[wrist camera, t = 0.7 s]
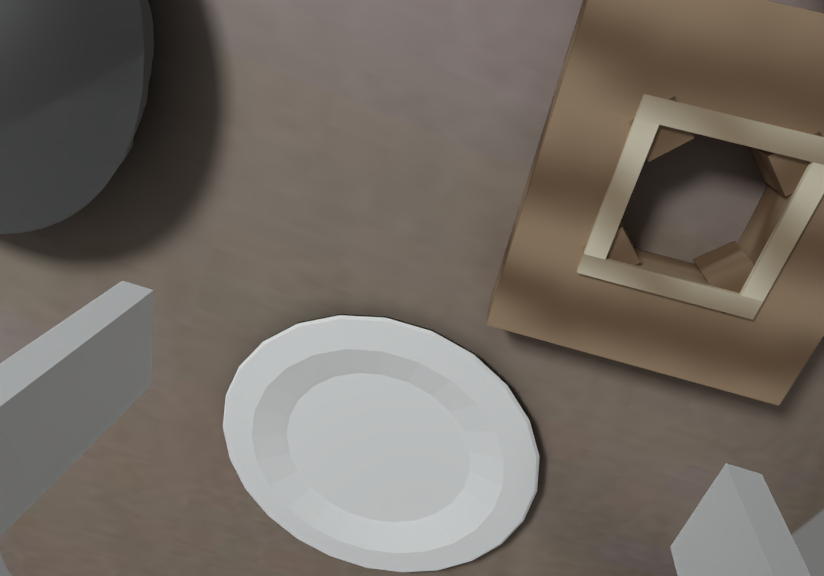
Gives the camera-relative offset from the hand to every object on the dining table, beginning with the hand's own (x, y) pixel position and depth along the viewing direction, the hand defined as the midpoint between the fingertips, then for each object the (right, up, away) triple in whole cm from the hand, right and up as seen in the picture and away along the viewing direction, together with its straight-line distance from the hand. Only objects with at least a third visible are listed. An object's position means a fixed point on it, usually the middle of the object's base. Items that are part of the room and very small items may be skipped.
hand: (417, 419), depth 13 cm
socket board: (+16, +8, +20) cm, 27 cm away
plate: (-3, -9, +33) cm, 35 cm away
